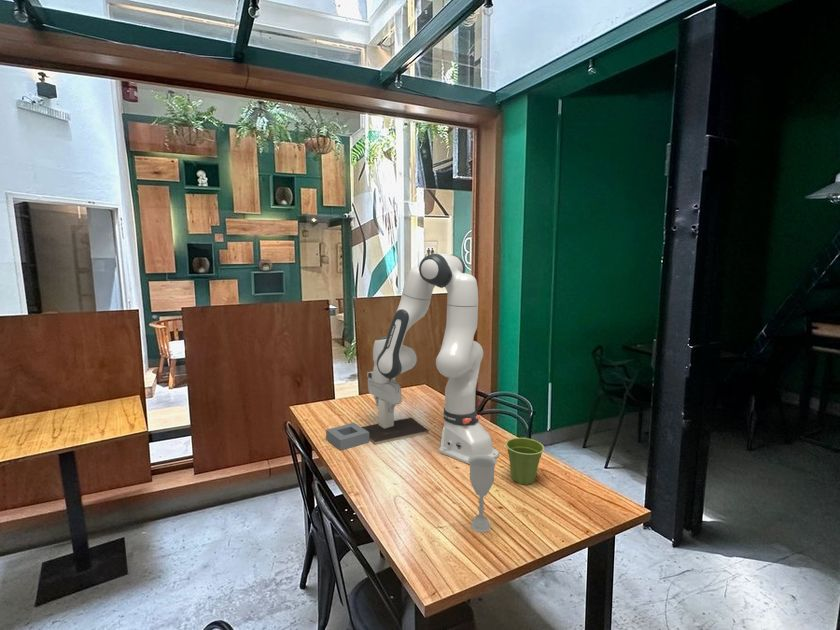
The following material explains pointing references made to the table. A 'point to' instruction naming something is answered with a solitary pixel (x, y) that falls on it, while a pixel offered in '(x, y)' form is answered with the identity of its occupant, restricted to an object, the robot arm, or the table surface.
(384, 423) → the cream block
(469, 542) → the table surface
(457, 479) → the table surface
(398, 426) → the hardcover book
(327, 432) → the holder
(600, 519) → the table surface
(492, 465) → the chalice
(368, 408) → the table surface
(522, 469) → the plant pot
